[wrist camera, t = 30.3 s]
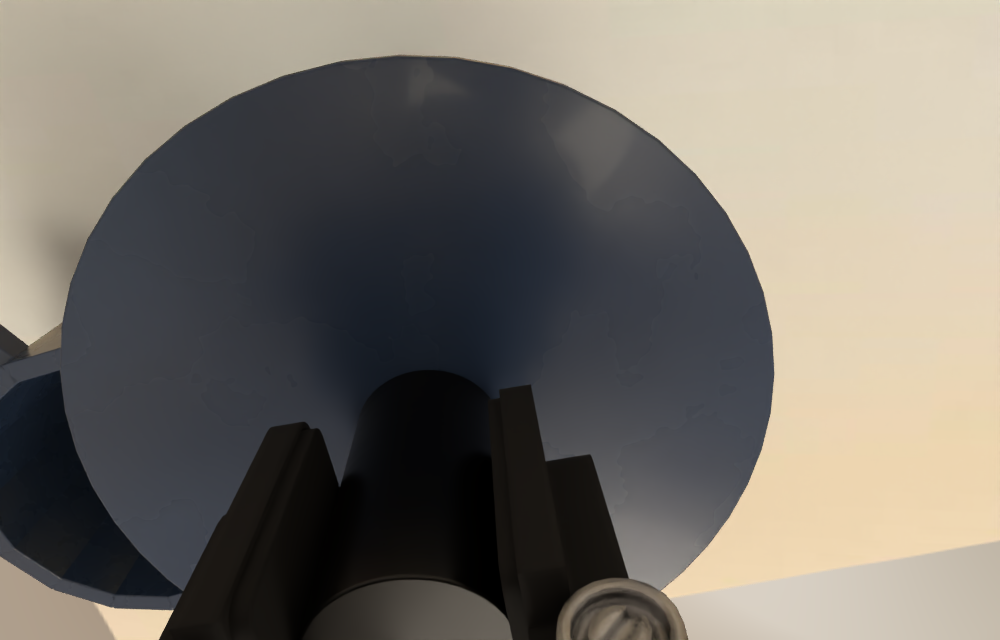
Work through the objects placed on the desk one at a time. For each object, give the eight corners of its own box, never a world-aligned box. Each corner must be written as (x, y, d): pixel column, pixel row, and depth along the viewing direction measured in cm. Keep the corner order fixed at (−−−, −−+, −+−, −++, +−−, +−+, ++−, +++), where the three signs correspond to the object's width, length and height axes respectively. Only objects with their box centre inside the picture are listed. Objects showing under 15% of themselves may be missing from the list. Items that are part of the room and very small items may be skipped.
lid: (470, -145, 10) (480, -400, 4) (858, 425, 14) (1114, 677, 9) (-52, 371, 13) (-468, 641, 7) (412, 701, 17) (387, 1023, 12)
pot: (161, 162, 30) (21, 219, 20) (416, 409, 36) (400, 542, 27) (-1, 319, 33) (-193, 435, 23) (262, 524, 39) (197, 682, 29)
